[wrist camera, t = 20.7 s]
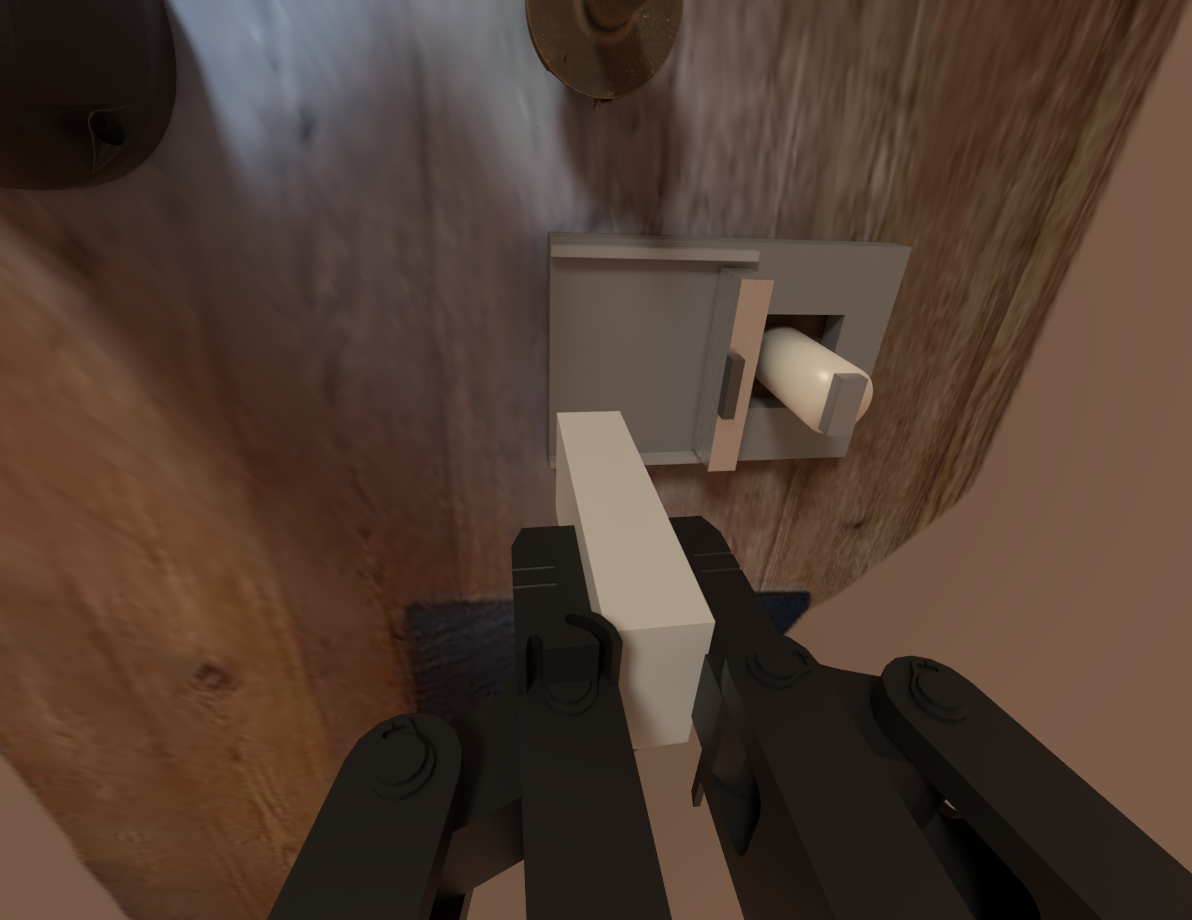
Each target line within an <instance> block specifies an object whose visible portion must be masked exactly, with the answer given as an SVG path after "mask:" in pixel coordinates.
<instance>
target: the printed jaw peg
mask: <svg viewBox="0 0 1192 920" xmlns="http://www.w3.org/2000/svg"><path fill="white" fill-rule="evenodd" d="M754 377H755V378H756V379H757V380H758V381H759V382H760V383H762V384H763V385H764V386H765V387H766V388H767V389H768V390H769V391H770V392H771V393H773V394H774V395H775V396H776V397H777V398H778V399H779V400H780V401H781V402H783V403H784V404H785V405H786V406H787V407H788V408H789V409H790V410H791V411H792V412H794V413H795V414H796V415H797V416H798V417H799V418H800V419H801V420H802V421H803V422H805V423H806V424H807V425H808V426H809V427H810V428H811V429H813V430H814V431H816V432H819V433H824V434H825V435H826V436H835V435H851V433H852V430H853V426H854V424H855V423H856V422H857V421H858V420H859V419H860V418H861V417H862V416H863V414H864V413H865V412H866V410H867V408H868V407H869V405H870V402H871V399H872V394H873V387H872V382H871V379H870V378H869V376H868V375H867V374H866V373H865V372H864V371H863V370H861V369H859V368H858V367H856V366H854V365H853V364H851V363H850V362H848V361H846V360H845V359H843V358H841V357H840V356H838V355H837V354H835V353H833V352H832V351H830V350H829V349H827V348H825V347H824V346H822V345H820V344H819V343H817V342H816V341H814V340H812V339H811V338H809V337H807V336H806V335H804V334H803V333H801V332H799V331H798V330H796V329H795V328H793V327H791V326H789V325H787V324H781V323H779V324H772V325H769V326H767V327H765V328H764V333H763V337H762V342H761V347H760V352H759V357H758V362H757V366H756V371H755V376H754Z"/></svg>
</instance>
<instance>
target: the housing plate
mask: <svg viewBox="0 0 1192 920" xmlns="http://www.w3.org/2000/svg"><path fill="white" fill-rule="evenodd" d="M911 250H912V247H909V246H905V245H901V244H897V243H887V242H855V241H823V240H790V239H758V238H726V237H693V236H661V235H629V234H597V233H564V232H548V297H547V457H548V464H549V468H550V469H554V468H556V448H557V413H566V412H605V411H620V413H621V415H622V417H623V420H624V422H625V424H626V426H627V428H628V431H629V433H630V435H631V437H632V439H633V442H634V444H635V446H636V448H637V450H638V453H639V455H640V457H641V459H642V461H643V464H644V465H662V464H689V463H702V461H701V460H700V458H699V457H698V455H697V454H696V452H695V450H694V449H693V442H694V436H695V429H696V423H697V417H698V410H699V404H700V398H701V391H702V385H703V378H704V372H705V366H706V359H707V353H708V347H709V340H710V334H711V327H712V321H713V315H714V308H715V302H716V296H717V289H718V283H719V276H720V270H721V268H751V269H753V270H755V271H757V272H759V273H761V274H763V275H765V276H767V277H769V278H771V279H773V280H774V284H773V289H772V294H771V299H770V303H769V308H768V313H767V314H798V315H828V317H827V321H826V324H825V328H824V332H823V336H822V340H821V343H820V345H822V346H824V347H825V348H827V349H829V350H830V351H832V352H833V353H835V354H837V355H838V356H840V357H841V358H843V359H845V360H846V361H848V362H850V363H851V364H853V365H854V366H856V367H858V368H859V369H861V370H863V371H864V372H865V373H866V374H867V375H868V376H869V378H870V377H871V374H872V371H873V368H874V365H875V362H876V359H877V356H878V353H879V349H880V346H881V343H882V340H883V337H884V334H885V331H886V328H887V325H888V321H889V318H890V315H891V312H892V309H893V306H894V303H895V300H896V297H897V293H898V290H899V287H900V284H901V281H902V278H903V275H904V272H905V269H906V265H907V262H908V259H909V256H910V253H911ZM855 424H856V423H855ZM855 424H854V426H853V430H854V427H855ZM853 430H852V433H853ZM852 433H851V435H835V436H826V435H825V434H824V433H819V432H816V431H814V430H813V429H811V428H810V427H809V426H808V425H807V424H806V423H805V422H803V421H802V420H801V419H800V418H799V417H798V416H797V415H796V414H795V413H794V412H792V411H791V410H790V409H789V408H788V407H787V406H786V405H785V404H784V403H783V402H781V401H780V400H779V399H778V398H777V397H751V398H750V400H749V405H748V410H747V415H746V420H745V424H744V429H743V434H742V439H741V444H740V449H739V453H738V458H737V461H746V460H774V459H801V458H828V457H845V455H846V452H847V449H848V446H849V443H850V440H851V436H852Z"/></svg>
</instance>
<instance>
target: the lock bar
mask: <svg viewBox="0 0 1192 920" xmlns="http://www.w3.org/2000/svg"><path fill="white" fill-rule="evenodd" d="M773 284H774V280H773V279H771V278H769V277H767V276H765V275H763V274H761V273H759V272H757V271H755V270H753V269H751V268H721V270H720V276H719V283H718V289H717V296H716V302H715V308H714V315H713V321H712V327H711V334H710V340H709V347H708V353H707V359H706V366H705V372H704V378H703V385H702V391H701V398H700V404H699V410H698V417H697V423H696V429H695V436H694V442H693V449H694V450H695V452H696V454H697V455H698V457H699V458H700V460H701V461H702V463H703V465H704V466H705V468H706V469H707V471H733V470H735V468H736V463H737V458H738V453H739V449H740V444H741V439H742V434H743V429H744V424H745V420H746V415H747V410H748V405H749V400H750V395H751V391H752V386H753V381H754V376H755V371H756V366H757V362H758V357H759V352H760V347H761V342H762V337H763V333H764V328H765V323H766V318H767V313H768V308H769V303H770V299H771V294H772V289H773Z"/></svg>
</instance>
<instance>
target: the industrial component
mask: <svg viewBox="0 0 1192 920" xmlns="http://www.w3.org/2000/svg"><path fill="white" fill-rule="evenodd" d="M683 3H684V0H525V10H526V19H527V25H528V30H529V34H530V37H531V40H532V43H533V46H534V48H535V50H536V53H537V55H538V57H539V59H540V60H541V62H542V64H543V65H544V67H545V68H546V70H547V71H550V72H551V73H552V74H553V75H554V76H556V77H557V78H558V79H559V80H560V81H561V82H563V83H564V84H565V85H567V86H568V87H569V88H571V89H572V90H574V91H576V92H578V93H580V94H582V95H585V96H588V97H592V98H595V99H594V103H595V104H594V111H595V110H598V109H600V104H603V103H608V102H611V101H612V100H613V99H618V98H622V97H624V96H626V95H629V94H631V93H633V92H635V91H637V90H639V89H640V88H642V87H643V86H645V85H646V84H647V83H648V82H650V81H651V80H652V79H653V78H654V77H655V76H656V75H657V73H658V72H659V71H660V70H661V68H662V67H663V66H664V64H665V63H666V61H667V59H668V58H669V56H670V54H671V52H672V50H673V48H674V45H675V42H676V40H677V37H678V33H679V30H680V25H681V21H682V14H683ZM537 128H538V127H537Z"/></svg>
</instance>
